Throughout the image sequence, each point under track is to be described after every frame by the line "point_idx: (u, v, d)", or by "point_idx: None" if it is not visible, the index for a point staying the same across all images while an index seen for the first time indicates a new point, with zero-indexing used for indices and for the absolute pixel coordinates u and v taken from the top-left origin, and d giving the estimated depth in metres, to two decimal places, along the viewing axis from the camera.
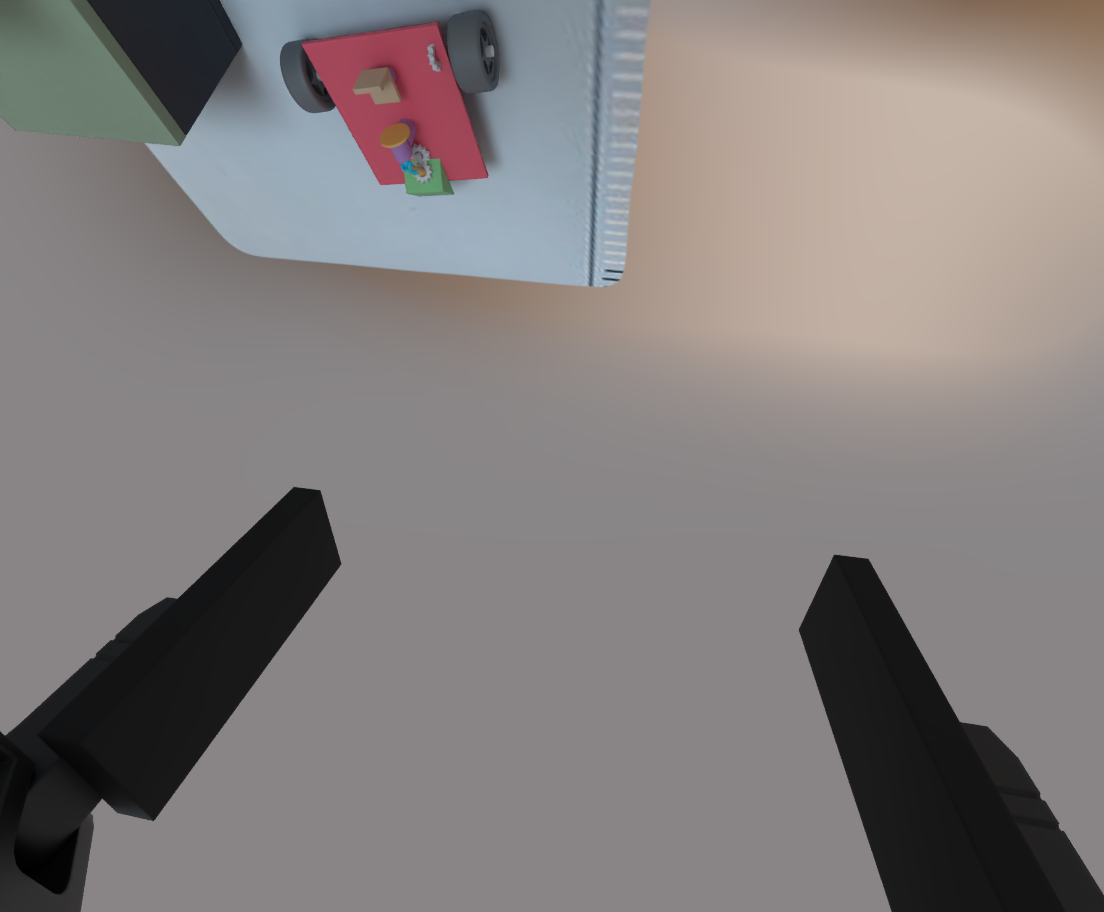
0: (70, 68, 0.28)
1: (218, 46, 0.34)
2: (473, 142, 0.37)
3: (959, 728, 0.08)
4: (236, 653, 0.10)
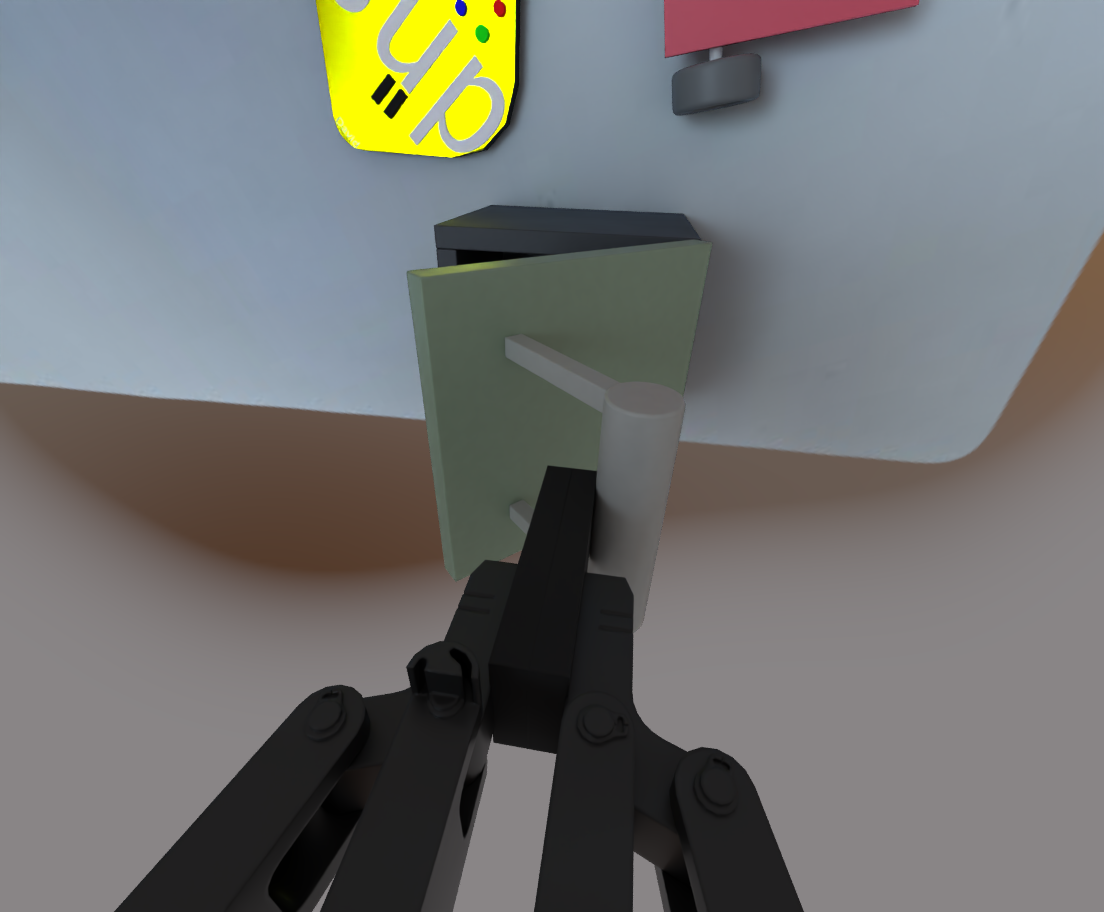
0: (626, 342, 0.19)
1: (664, 217, 0.27)
2: None
3: (580, 569, 0.11)
4: None
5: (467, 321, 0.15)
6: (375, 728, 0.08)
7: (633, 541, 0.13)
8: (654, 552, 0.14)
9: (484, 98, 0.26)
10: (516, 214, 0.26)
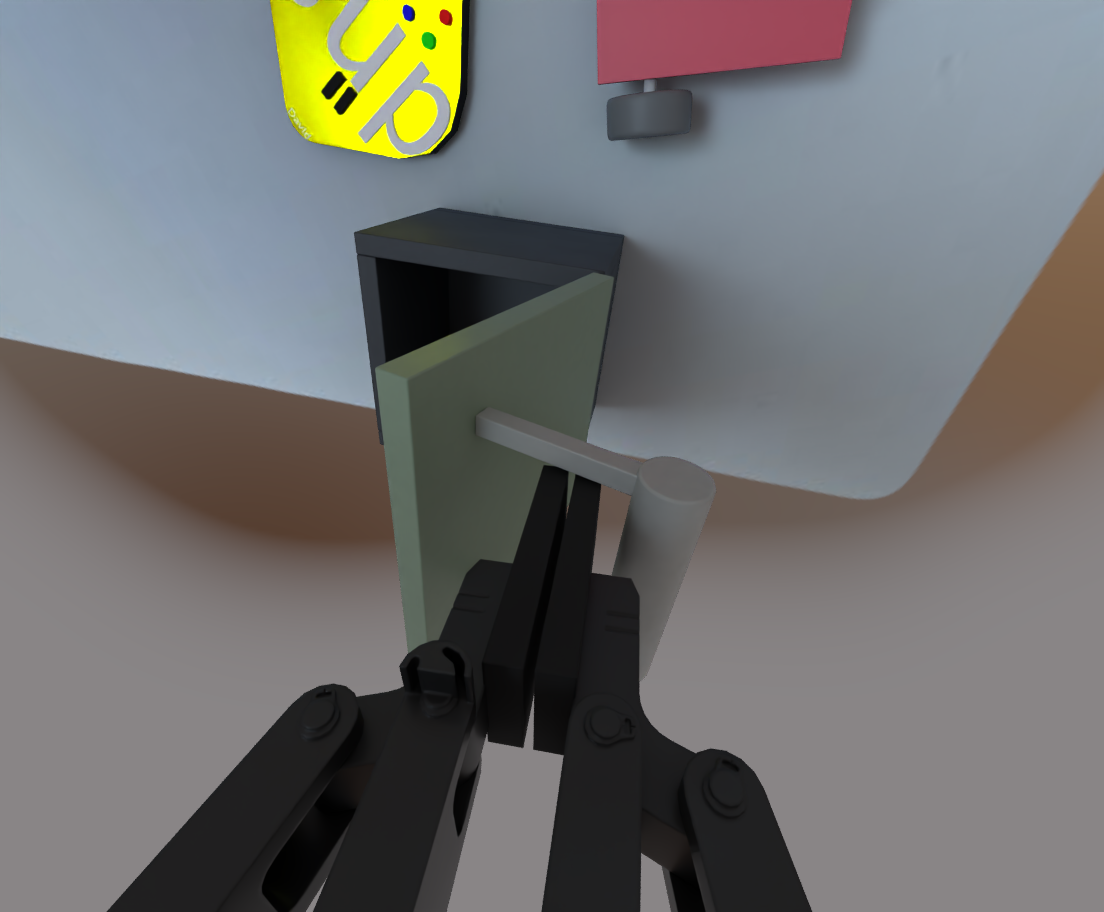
0: (559, 384, 0.19)
1: (599, 238, 0.27)
2: None
3: (586, 569, 0.11)
4: (545, 608, 0.12)
5: (446, 411, 0.13)
6: (368, 727, 0.08)
7: (666, 604, 0.14)
8: None
9: (430, 104, 0.27)
10: (452, 223, 0.27)
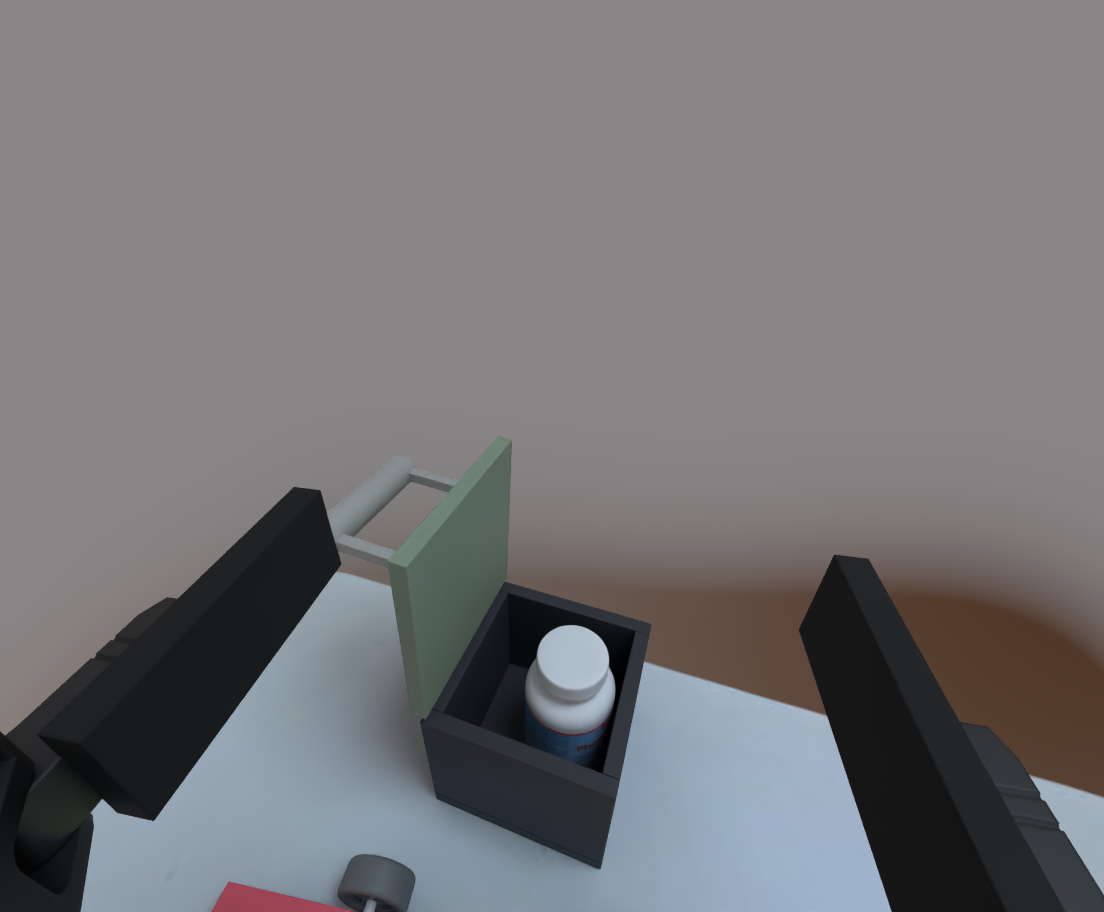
0: None
1: (448, 788, 0.32)
2: None
3: (959, 728, 0.08)
4: (235, 653, 0.10)
5: None
6: None
7: None
8: None
9: None
10: (564, 824, 0.29)
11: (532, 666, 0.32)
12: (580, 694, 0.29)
